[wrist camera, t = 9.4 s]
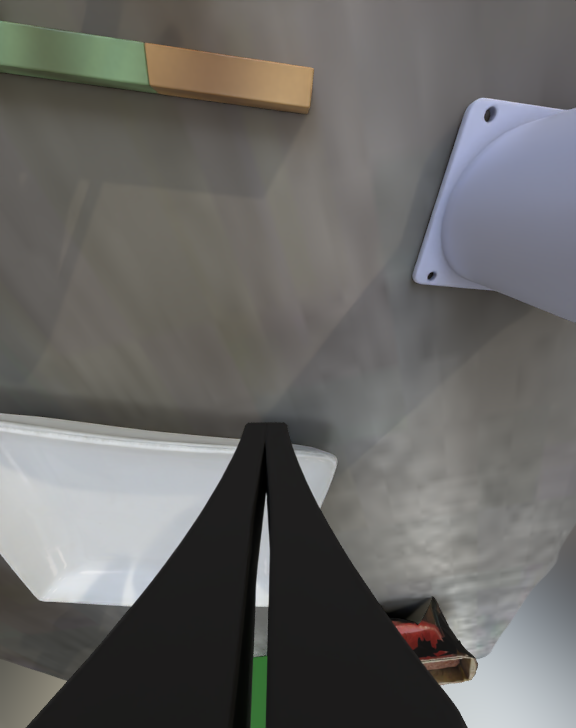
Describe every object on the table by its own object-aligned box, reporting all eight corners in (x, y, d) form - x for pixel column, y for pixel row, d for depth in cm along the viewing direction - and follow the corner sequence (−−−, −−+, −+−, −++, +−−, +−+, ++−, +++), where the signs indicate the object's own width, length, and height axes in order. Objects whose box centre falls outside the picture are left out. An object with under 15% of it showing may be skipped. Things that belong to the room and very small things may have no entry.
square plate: (333, 420, 22) (344, 460, 18) (281, 573, 36) (281, 611, 32) (-46, 381, 18) (-116, 421, 15) (58, 566, 32) (33, 608, 29)
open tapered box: (343, 588, 43) (348, 683, 35) (465, 595, 40) (501, 703, 32) (350, 611, 52) (355, 692, 44) (451, 618, 48) (477, 709, 40)
